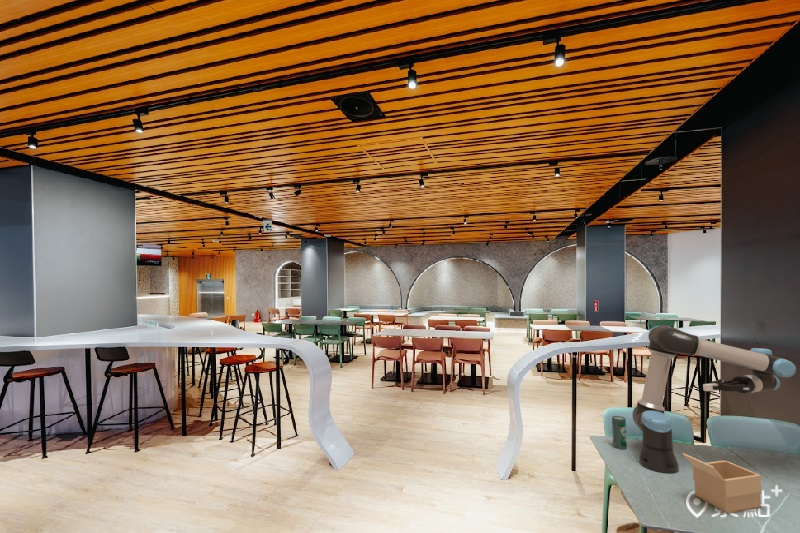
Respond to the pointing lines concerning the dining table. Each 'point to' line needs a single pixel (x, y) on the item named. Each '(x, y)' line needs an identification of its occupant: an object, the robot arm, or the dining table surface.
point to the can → (619, 432)
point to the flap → (703, 466)
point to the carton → (729, 487)
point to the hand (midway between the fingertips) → (704, 387)
